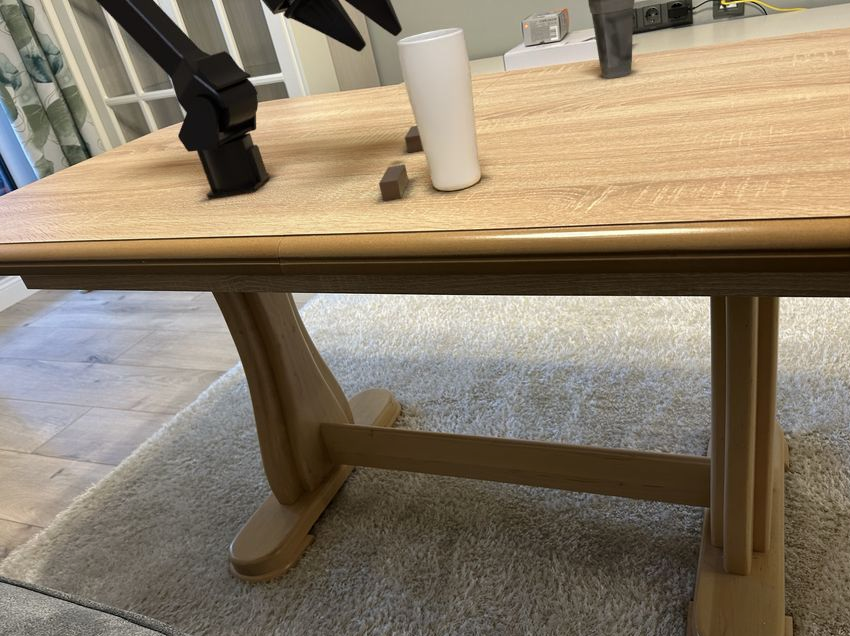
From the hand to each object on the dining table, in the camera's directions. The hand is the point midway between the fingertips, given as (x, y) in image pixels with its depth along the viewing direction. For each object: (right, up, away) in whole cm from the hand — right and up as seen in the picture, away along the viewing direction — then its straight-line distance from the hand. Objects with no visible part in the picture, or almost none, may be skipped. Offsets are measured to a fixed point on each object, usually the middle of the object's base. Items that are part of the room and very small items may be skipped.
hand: (381, 40), depth 75 cm
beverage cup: (+33, +10, +36) cm, 50 cm away
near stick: (+1, -15, +3) cm, 16 cm away
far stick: (+3, -6, +19) cm, 20 cm away
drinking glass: (+8, -15, +1) cm, 17 cm away
